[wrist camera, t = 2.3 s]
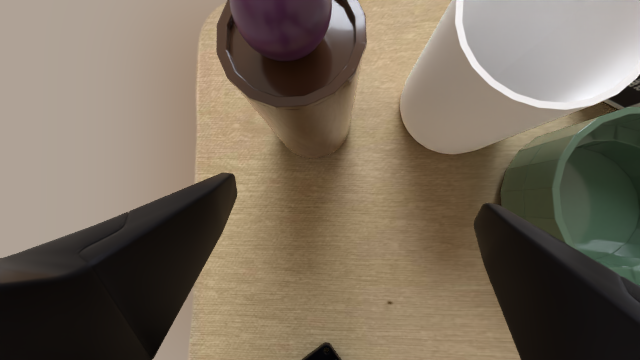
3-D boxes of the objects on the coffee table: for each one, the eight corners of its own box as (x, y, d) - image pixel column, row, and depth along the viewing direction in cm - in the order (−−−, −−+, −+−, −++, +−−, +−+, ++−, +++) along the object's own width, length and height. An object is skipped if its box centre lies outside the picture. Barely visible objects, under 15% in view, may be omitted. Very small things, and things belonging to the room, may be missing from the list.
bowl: (565, 309, 22) (653, 348, 16) (466, 188, 23) (511, 182, 17) (684, 218, 22) (815, 223, 16) (578, 103, 23) (661, 69, 17)
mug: (400, 158, 24) (463, 114, 12) (393, 38, 25) (443, -106, 13) (504, 154, 23) (673, 104, 12) (492, 32, 24) (634, -124, 13)
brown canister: (351, 157, 24) (369, 102, 11) (278, 159, 24) (215, 110, 12) (348, 86, 25) (362, -42, 12) (277, 90, 25) (217, -30, 12)
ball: (281, 95, 12) (253, 40, 8) (234, 33, 12) (185, -48, 8) (350, 44, 12) (355, -37, 8) (300, -16, 12) (282, -120, 8)
